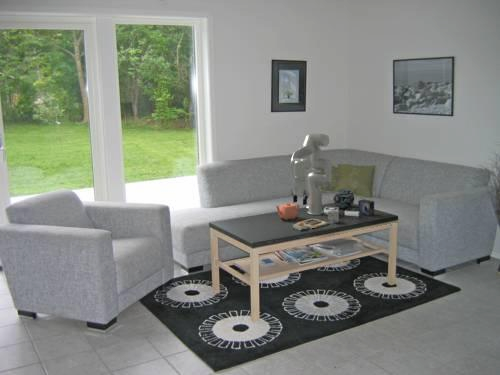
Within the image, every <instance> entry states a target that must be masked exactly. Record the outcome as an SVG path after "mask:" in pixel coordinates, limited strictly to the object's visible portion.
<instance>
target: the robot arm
mask: <svg viewBox="0 0 500 375" xmlns="http://www.w3.org/2000/svg"><path fill="white" fill-rule="evenodd" d="M329 144H330V137H329V136H328V135H327V134H324V133H308V134H306V135H305V138H304V140H303V143H302V145H301V147H300V148H298V149H297V150H296V151H294V152H293V154H292V155H291V156H292V157H291V158H290V162H289V164H290V165H289V166H290V168H291V169H293V174H294V176H293V182H292V188H291V189H290V193H291V195H292V198H293V200H292V202H293V204H294V203H298V197H301V198H303V199H302V205H303V206H306V205H307V204H308V205H307V206H306V209H307V211H306V213H307V214H308V215H311V216H320V215H323V214H324V213H325V212H324V210H322V208H323V204H322V203H323V200H322V199H323V196H322V194H323V192H322V191H323V190H322V188H321V186H329V185H331V182H332V168H333V166H332V164H333V163H332V161H331V159H330V158H329V157H323V156H322V155H323V154H322V153H323V150H322V148H321V147H326V148H327V146H329ZM308 156H310V157H309V158H305V157H308ZM310 169H311V170H313V171H312V172H309V173H308V174H307V180H306V170H310ZM319 171H320V172H319ZM307 182H308V187H307Z"/></svg>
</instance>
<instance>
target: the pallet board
mask: <svg viewBox="0 0 500 375" xmlns="http://www.w3.org/2000/svg"><path fill="white" fill-rule="evenodd" d="M298 222H299V221H298ZM298 222H296V223H295V224H297V223H298ZM300 222H303V224H306V225H308V229H309V228H311V229H310V230H313V229H312V228H315V229H318V228H322V227H324V226H325V227H326V226H329V225H330V223H329V222H328V221H323V220H321V219H316V218H314V217H313V218H309V219H306V220H301V221H300ZM328 224H329V225H328ZM321 226H322V227H321ZM317 227H318V228H317Z"/></svg>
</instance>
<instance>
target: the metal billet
mask: <svg viewBox="0 0 500 375" xmlns="http://www.w3.org/2000/svg"><path fill="white" fill-rule="evenodd" d="M327 222H328V223H329V224H332V225H333V224H337V223H339V210H335V209H333V210H328V211H327Z"/></svg>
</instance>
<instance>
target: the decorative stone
mask: <svg viewBox="0 0 500 375" xmlns="http://www.w3.org/2000/svg"><path fill="white" fill-rule="evenodd" d="M333 202H334V205H335V206H336V207H337V208H340V209H348V208H351V207H352V205H354V202H355V196H354V193H353V192H352V191H351V190H349V189H346V188H340V189H337V191H336V192H334V194H333Z"/></svg>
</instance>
